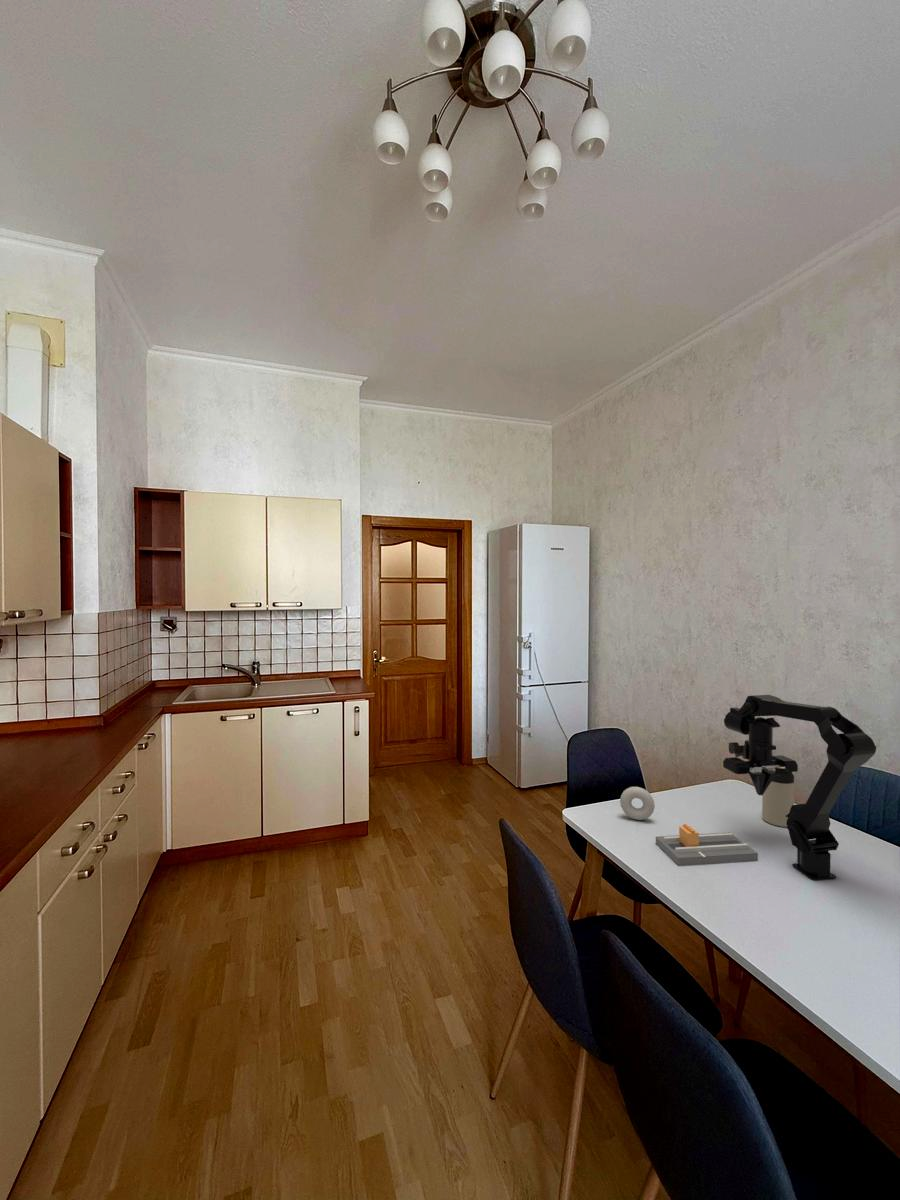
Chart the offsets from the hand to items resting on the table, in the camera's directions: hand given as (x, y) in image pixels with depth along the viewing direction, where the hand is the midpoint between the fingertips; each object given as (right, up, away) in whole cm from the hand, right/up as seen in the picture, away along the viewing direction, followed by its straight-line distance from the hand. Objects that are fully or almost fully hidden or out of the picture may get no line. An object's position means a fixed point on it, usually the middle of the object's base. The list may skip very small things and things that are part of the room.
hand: (759, 794), depth 138 cm
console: (-18, -13, -6) cm, 23 cm away
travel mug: (+13, -13, +12) cm, 22 cm away
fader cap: (-23, -11, -6) cm, 26 cm away
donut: (-30, -13, +13) cm, 35 cm away
